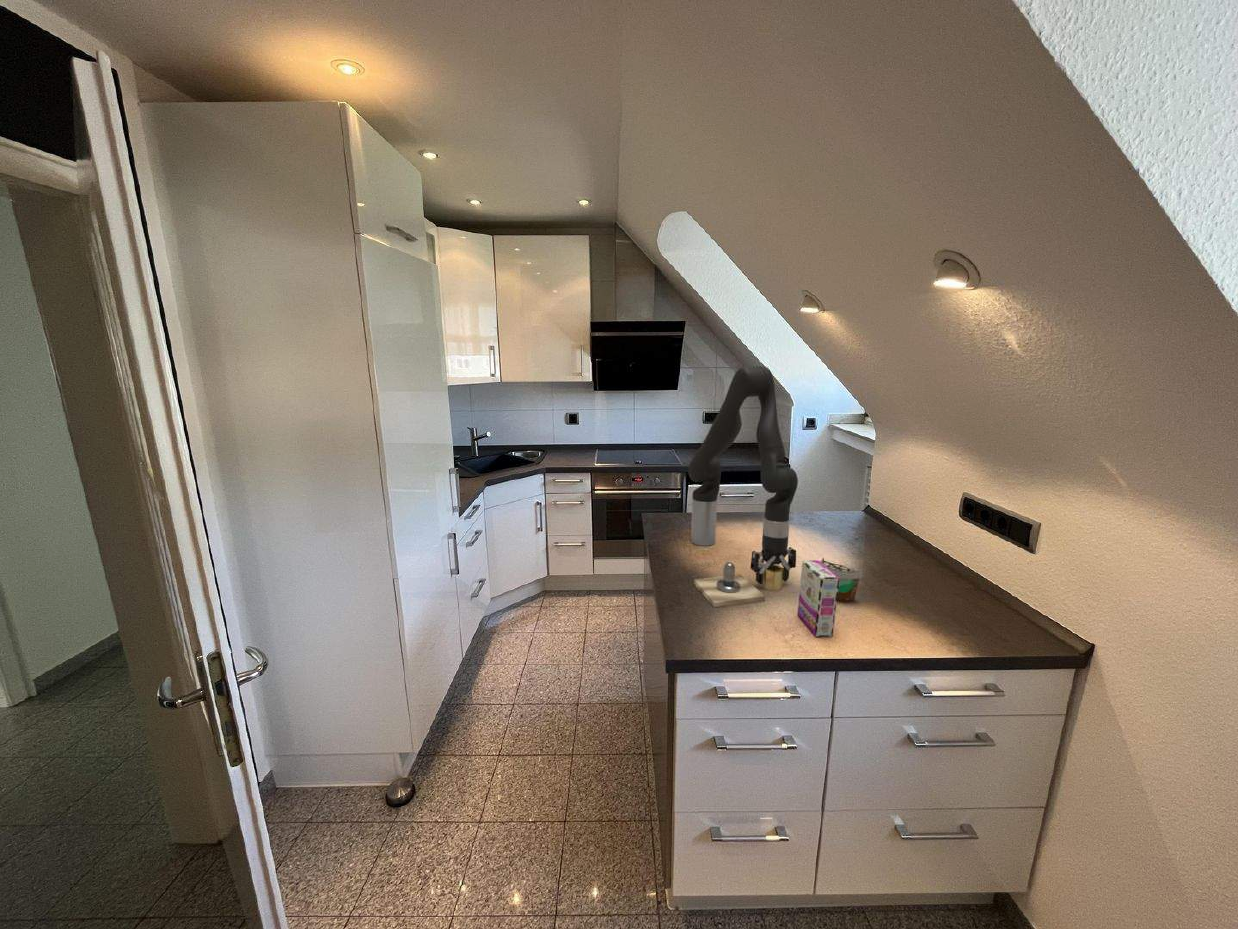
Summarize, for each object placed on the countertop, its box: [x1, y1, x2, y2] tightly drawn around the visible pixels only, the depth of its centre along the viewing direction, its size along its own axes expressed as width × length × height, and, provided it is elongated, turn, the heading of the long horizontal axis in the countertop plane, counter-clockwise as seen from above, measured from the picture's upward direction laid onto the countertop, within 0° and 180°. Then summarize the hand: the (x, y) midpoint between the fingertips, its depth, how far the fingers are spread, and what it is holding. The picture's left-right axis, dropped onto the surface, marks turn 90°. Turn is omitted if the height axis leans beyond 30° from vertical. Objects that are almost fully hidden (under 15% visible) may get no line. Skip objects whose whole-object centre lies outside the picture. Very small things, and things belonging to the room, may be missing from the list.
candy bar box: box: [797, 560, 840, 638], centre depth 127 cm, size 11×5×16 cm, turn 4°
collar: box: [760, 564, 784, 592], centre depth 150 cm, size 6×6×6 cm
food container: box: [820, 557, 863, 603], centre depth 142 cm, size 12×6×10 cm, turn 40°
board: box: [693, 573, 766, 608], centre depth 146 cm, size 15×16×2 cm
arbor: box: [717, 561, 740, 593], centre depth 145 cm, size 7×7×8 cm
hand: (772, 581), depth 150 cm, fingers open, 8 cm apart
